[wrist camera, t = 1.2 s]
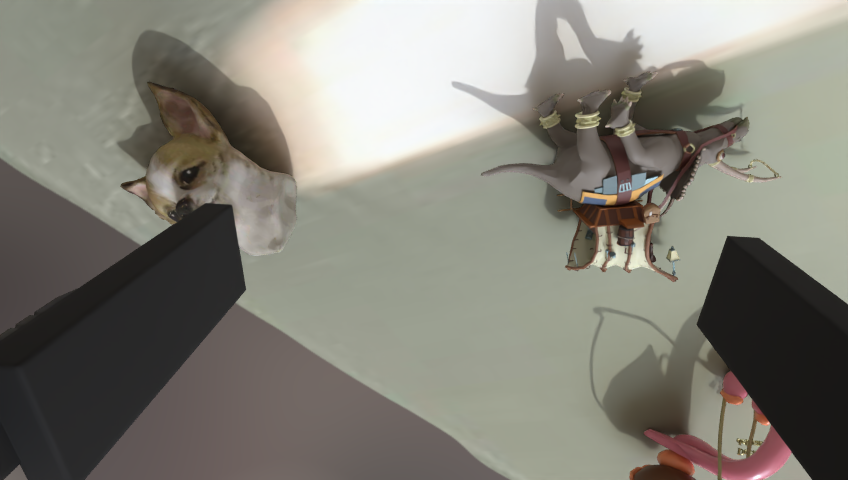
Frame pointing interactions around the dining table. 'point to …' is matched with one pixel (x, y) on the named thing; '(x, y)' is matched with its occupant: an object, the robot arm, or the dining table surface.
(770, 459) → the anatomy model
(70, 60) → the dining table surface
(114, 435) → the robot arm
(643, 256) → the figurine
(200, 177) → the ceramic sculpture
